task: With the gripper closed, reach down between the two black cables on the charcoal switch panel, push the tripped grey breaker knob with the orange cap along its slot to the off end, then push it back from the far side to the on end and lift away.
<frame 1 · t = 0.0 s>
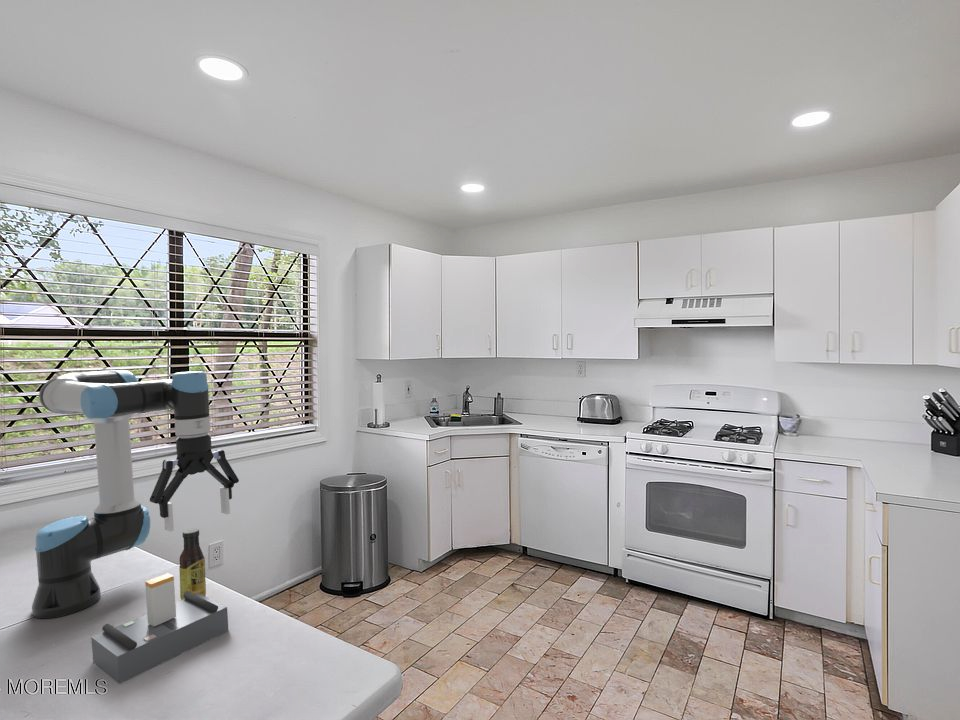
hand: (198, 521, 130), 28 cm above the table, tool pointing down, fingers open, 13 cm apart
sauce bottle: (194, 602, 147), on the table
cables: (162, 617, 126), on the switch panel, point 6 cm above the table
switch panel: (163, 645, 126), on the table
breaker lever: (160, 599, 125), point 11 cm above the table, slide at 0.0 cm
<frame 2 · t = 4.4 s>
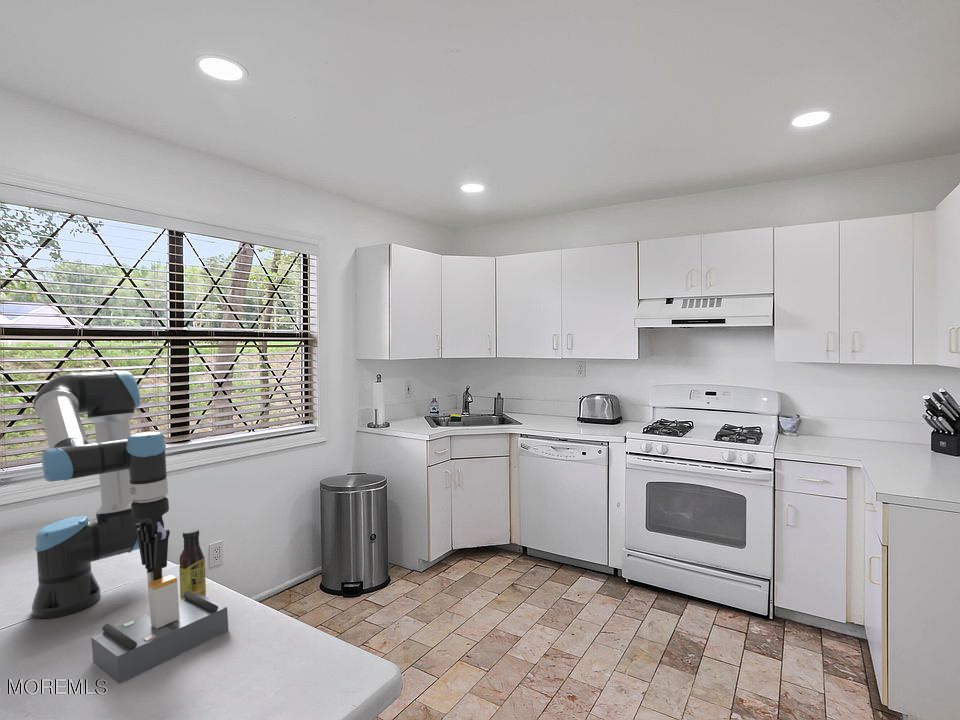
hand: (156, 595, 127), 12 cm above the table, tool pointing down, fingers closed
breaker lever: (164, 601, 124), point 11 cm above the table, slide at 1.6 cm, touching gripper
everything else where it was.
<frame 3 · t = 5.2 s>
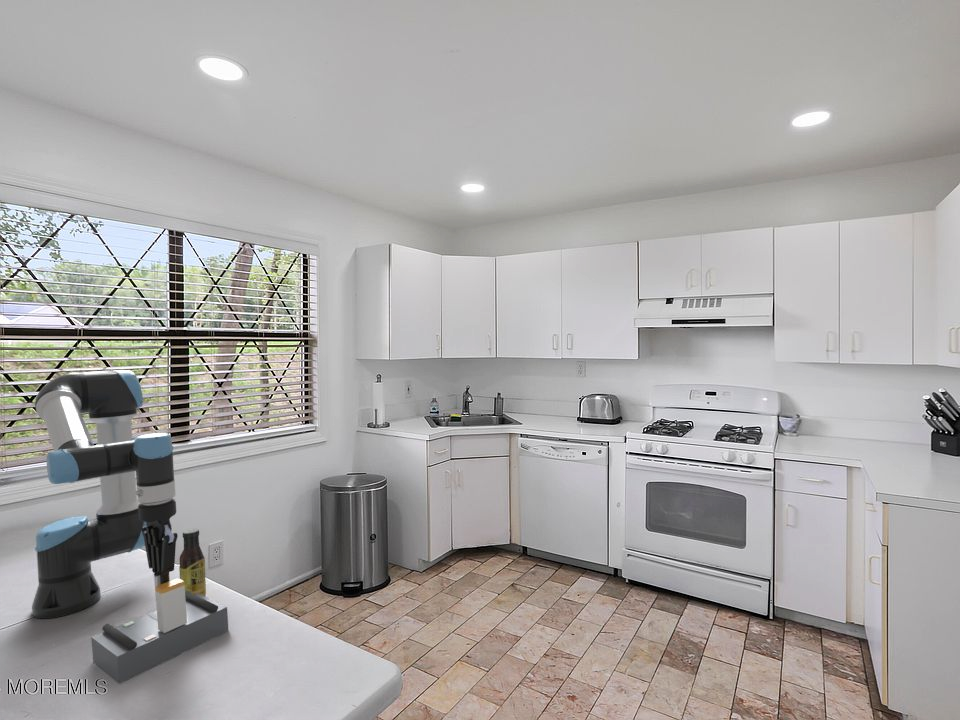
hand: (163, 599, 124), 12 cm above the table, tool pointing down, fingers closed
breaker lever: (171, 604, 122), point 11 cm above the table, slide at 5.2 cm, touching gripper
everything else where it was.
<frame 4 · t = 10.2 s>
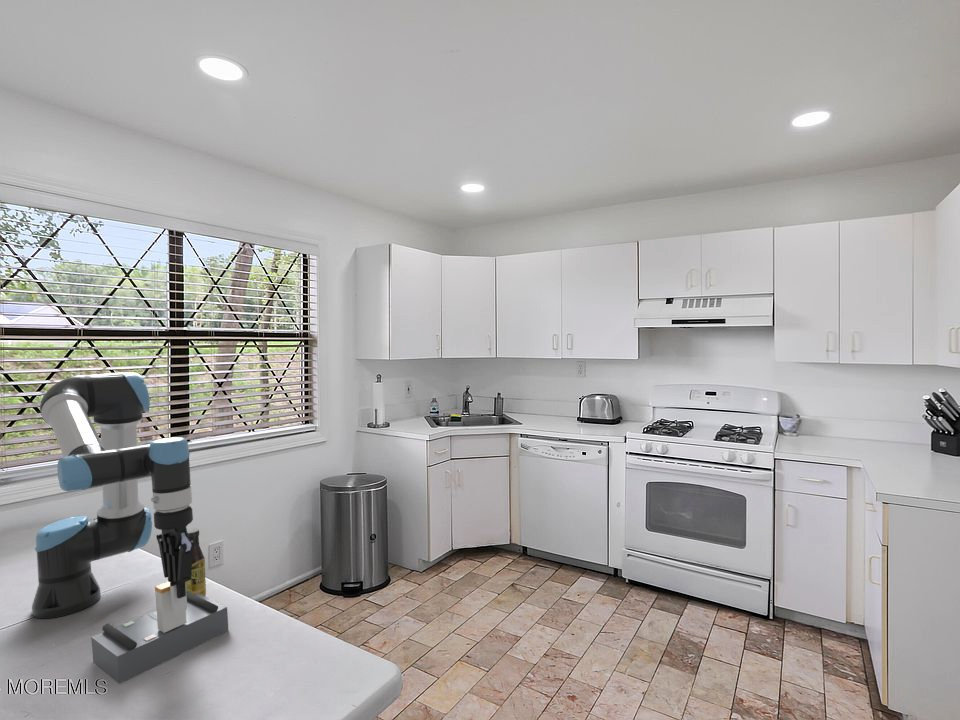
hand: (179, 609, 120), 11 cm above the table, tool pointing down, fingers closed
nothing on the table moved.
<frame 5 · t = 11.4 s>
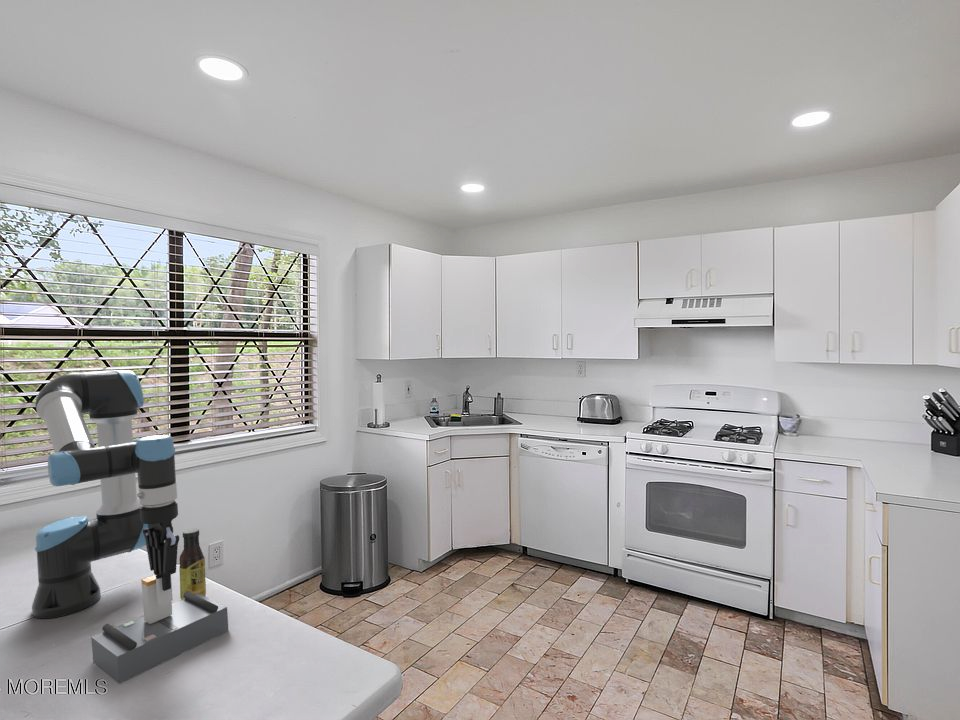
hand: (165, 601, 124), 11 cm above the table, tool pointing down, fingers closed
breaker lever: (157, 597, 127), point 11 cm above the table, slide at -2.0 cm, touching gripper
everything else where it was.
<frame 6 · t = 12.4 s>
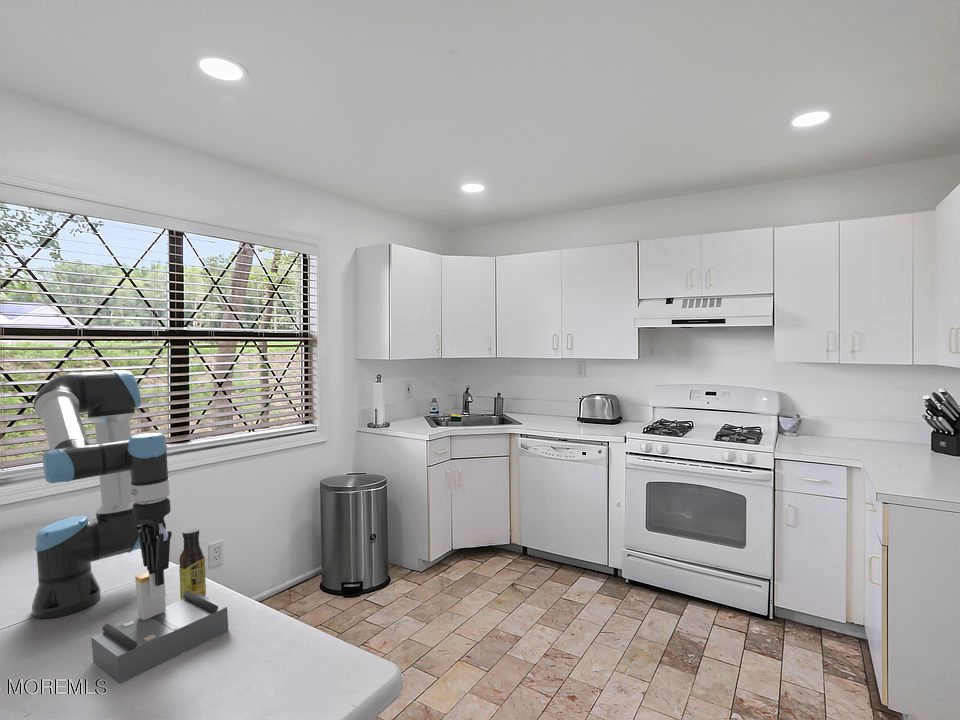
hand: (158, 597, 126), 11 cm above the table, tool pointing down, fingers closed
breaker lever: (150, 593, 128), point 11 cm above the table, slide at -5.2 cm, touching gripper
everything else where it was.
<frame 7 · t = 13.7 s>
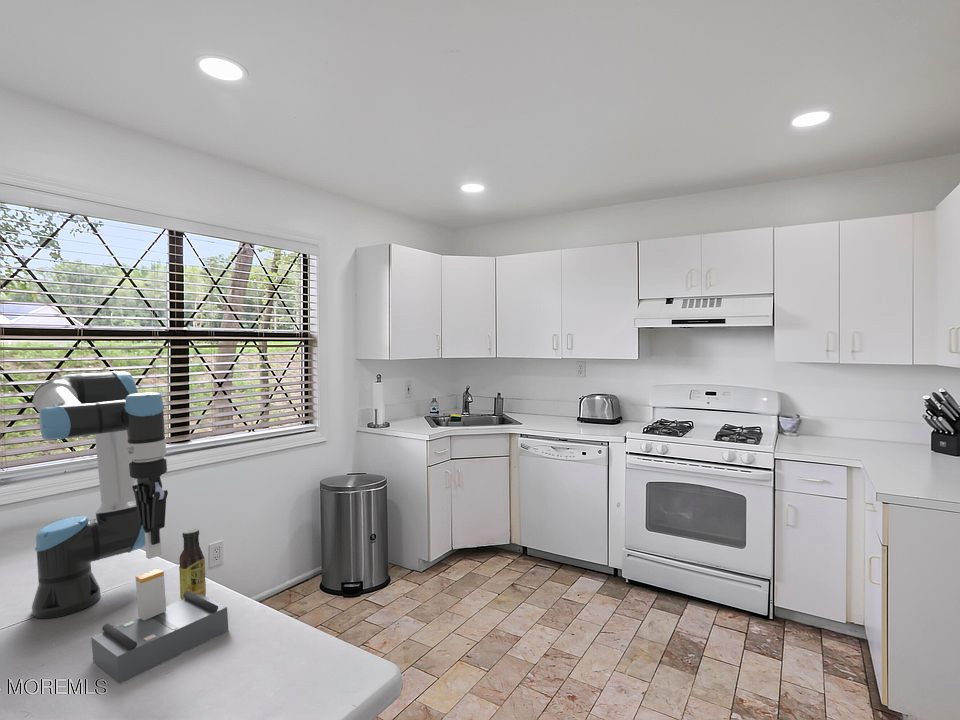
hand: (153, 556, 126), 21 cm above the table, tool pointing down, fingers closed
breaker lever: (151, 594, 128), point 11 cm above the table, slide at -5.1 cm
everything else where it was.
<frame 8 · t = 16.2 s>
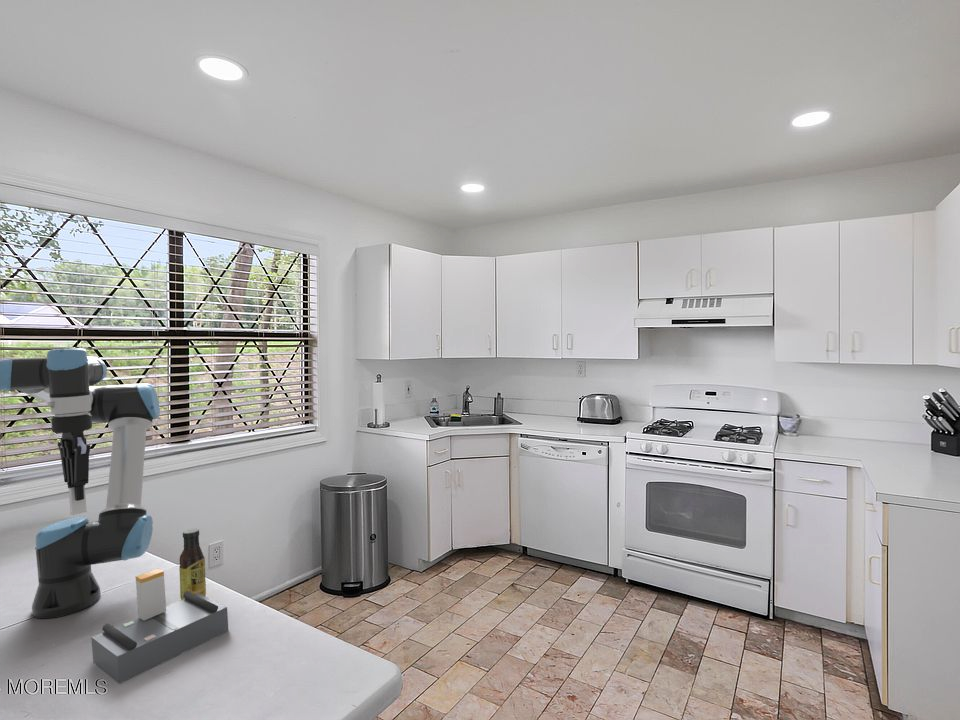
hand: (78, 512, 126), 32 cm above the table, tool pointing down, fingers closed
nothing on the table moved.
at the end: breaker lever slide at -5.1 cm; sauce bottle moved 0.2 cm from its start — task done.
